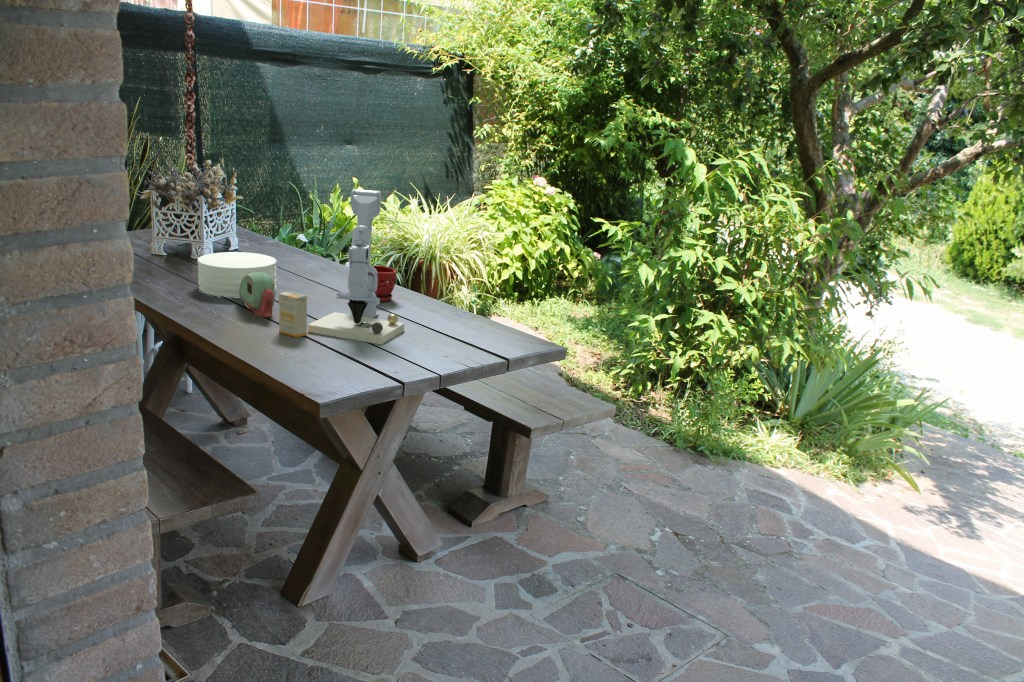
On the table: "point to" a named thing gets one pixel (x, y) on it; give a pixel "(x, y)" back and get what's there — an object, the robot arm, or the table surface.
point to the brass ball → (392, 319)
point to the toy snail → (258, 293)
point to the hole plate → (354, 328)
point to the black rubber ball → (377, 327)
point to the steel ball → (364, 324)
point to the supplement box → (293, 314)
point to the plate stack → (231, 271)
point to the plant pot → (385, 282)
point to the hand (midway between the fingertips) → (357, 322)
